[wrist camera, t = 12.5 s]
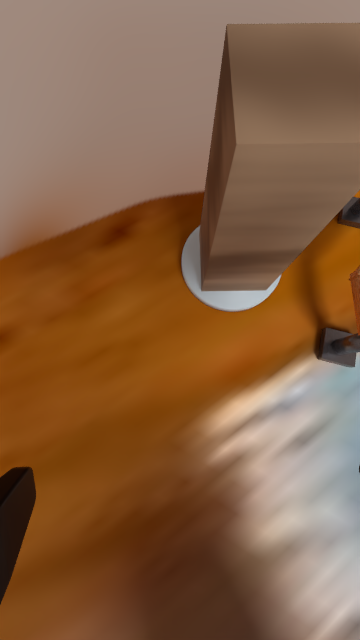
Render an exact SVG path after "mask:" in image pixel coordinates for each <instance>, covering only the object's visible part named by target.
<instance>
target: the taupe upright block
mask: <svg viewBox="0 0 360 640" xmlns="http://www.w3.org/2000/svg"><path fill="white" fill-rule="evenodd" d="M207 171H208V172H207V178H206V186H205V193H204V201H203V208H202V216H201V224H200V231H199V241H200V267H201V291H260V290H267V289H268V288H269V287H270V286H271V284H272V283H273V282H274V281H275V280H276V279H277V278H278V277H279V276H280V275H281V274H282V273H283V272H284V271H285V269H286V268H287V267H288V266H289V265H290V264H291V263H292V262H293V261H294V260H295V259H296V258H297V257H298V255H299V254H300V253H301V252H302V251H303V250H304V249H305V248H306V247H307V246H308V245H309V244H310V243H311V241H312V240H313V239H314V238H315V237H316V236H317V235H318V234H319V233H320V232H321V231H322V230H323V229H324V227H325V226H326V225H327V224H328V223H329V222H330V221H331V220H332V219H333V218H334V217H335V216H336V215H337V214H338V212H339V211H340V210H341V209H342V208H343V207H344V206H345V205H346V204H347V203H348V202H349V201H350V200H351V198H352V197H353V196H354V195H355V194H356V193H357V192H358V191H359V190H360V23H309V24H308V23H305V24H304V23H301V24H227V26H226V34H225V41H224V49H223V56H222V64H221V72H220V79H219V87H218V95H217V103H216V110H215V117H214V125H213V133H212V140H211V148H210V155H209V163H208V170H207Z"/></svg>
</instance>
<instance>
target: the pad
mask: <svg viewBox="0 0 360 640" xmlns="http://www.w3.org/2000/svg"><path fill="white" fill-rule="evenodd" d="M199 231H200V226H199V227H197V228H196V229H195V230H194V231H193V232H192V233H191V235H190V236H189V237H188V239H187V241H186V243H185V245H184V248H183V252H182V263H181V265H182V274H183V277H184V280H185V283H186V285H187V287H188V288H189V290H190V291H191V293H192V294H193V295H194V296H195V297H196V298H197V299H198V300H200V301H201V302H202V303H204V304H205V305H207V306H209V307H211V308H214V309H217V310H221V311H228V312H237V311H243V310H247V309H250V308H252V307H255V306H257V305H258V304H260V303H261V302H262V301H264V300H265V299H266V298H267V297H268V296H269V295H270V294H271V293H272V292H273V290H274V289H275V288H276V286H277V284H278V282H279V280H280V277H281V275H280V276H279V277H278V278H277V279H276V280H275V281H274V282H273V283H272V284H271V286H270V287H269V288H268V289H267V290H260V291H201V267H200V241H199Z"/></svg>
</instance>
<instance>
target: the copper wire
mask: <svg viewBox="0 0 360 640" xmlns="http://www.w3.org/2000/svg"><path fill="white" fill-rule="evenodd" d="M338 223H339V224H343V225H347V226H352V227H356V228H360V198H356V197H352V198H351V200H350V201H349V202H348V203H347V204H346V205H345V206H344V207H343V208H342V209H341V210H340V211H339V217H338ZM349 280H350V281H351V287H352V294H353V301H354V308H355V315H356V322H357V329H358V333H357V334H350V333H346V332H342V331H338V330H334V329H330V328H324V329H322V334H321V341H320V348H319V354H318V359H319V360H323V361H327V362H331V363H335V364H339V365H342V366H346V367H355V360H356V352H360V266H359V267H358V268H357V269H356V271H354V272H353V273H351V274H350V278H349Z"/></svg>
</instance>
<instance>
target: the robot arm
mask: <svg viewBox="0 0 360 640" xmlns="http://www.w3.org/2000/svg"><path fill="white" fill-rule="evenodd" d="M359 472H360V466H359ZM35 500H36V489H35V482H34V476H33V470H32V468H31V467H15V468H12V469H11V470H9V471H8V472H7V473H5V474H4V475H3V476H1V477H0V604H1V601H2V599H3V597H4V594H5V592H6V589H7V587H8V584H9V581H10V579H11V576H12V573H13V570H14V567H15V564H16V561H17V558H18V554H19V551H20V548H21V545H22V542H23V539H24V536H25V532H26V529H27V526H28V523H29V520H30V517H31V514H32V510H33V507H34V504H35Z"/></svg>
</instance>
